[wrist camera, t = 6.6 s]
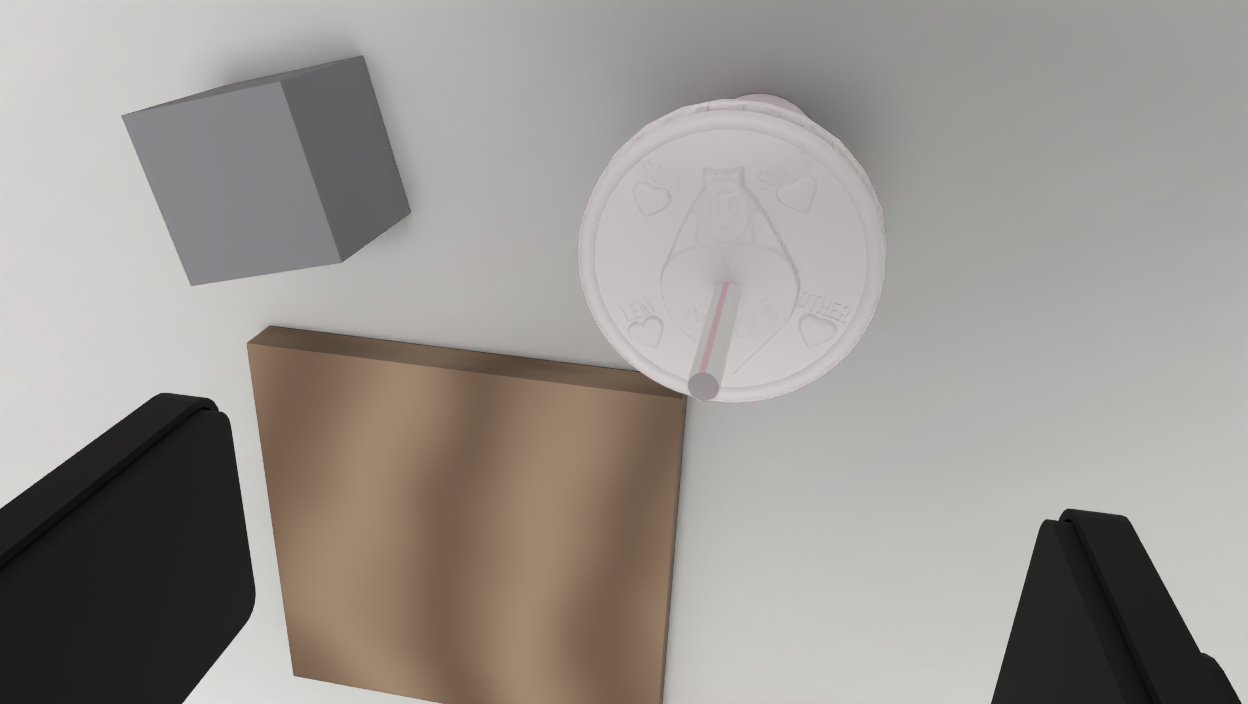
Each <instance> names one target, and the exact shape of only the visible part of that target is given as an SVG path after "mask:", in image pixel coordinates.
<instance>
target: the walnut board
mask: <svg viewBox="0 0 1248 704" xmlns="http://www.w3.org/2000/svg"><path fill="white" fill-rule="evenodd" d="M247 350H248V357H249V364H250V371H251V378H252V385H253V392H254V399H255V406H256V413H257V421H258V428H259V435H260V442H261V449H262V456H263V463H264V470H265V477H266V484H267V491H268V498H269V505H270V512H271V519H272V527H273V534H274V541H275V548H276V555H277V562H278V569H279V576H280V583H281V590H282V597H283V604H284V611H285V618H286V625H287V633H288V640H289V647H290V654H291V661H292V668H293V675H294V676H297V677H303V678H308V679H314V680H319V681H324V682H330V683H335V684H341V685H346V686H351V687H357V688H362V689H368V690H373V691H378V692H384V693H389V694H395V695H400V696H405V697H411V698H416V699H421V700H427V701H432V702H438V703H443V704H662V701H663V688H664V676H665V663H666V651H667V638H668V626H669V613H670V601H671V589H672V576H673V564H674V551H675V539H676V526H677V514H678V501H679V489H680V477H681V464H682V452H683V439H684V427H685V414H686V402H687V395H686V394H683V393H680V392H677V391H675V390H672V389H670V388H667V387H665V386H663V385H661V384H659V383H658V382H656V381H654V380H652V379H650V378H649V377H647V376H646V375H644V374H643V373H641V372H635V371H627V370H619V369H611V368H603V367H595V366H587V365H579V364H571V363H563V362H555V361H547V360H539V359H530V358H522V357H514V356H506V355H498V354H490V353H482V352H474V351H466V350H458V349H450V348H442V347H434V346H426V345H418V344H410V343H402V342H394V341H386V340H378V339H370V338H362V337H354V336H346V335H338V334H330V333H322V332H314V331H306V330H298V329H290V328H282V327H274V326H269V327H268V328H266V329H265V330H264V331H262V332H261V333H259V334H258V335H257V336H255V337H254V338H253V339H251V340H250V341H249V342H247Z"/></svg>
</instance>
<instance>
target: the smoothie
mask: <svg viewBox="0 0 1248 704" xmlns="http://www.w3.org/2000/svg"><path fill="white" fill-rule="evenodd" d="M886 252H887V244H886V236H885V227H884V219H883V211H882V208H881V205H880V203H879V201H878V198H877V196H876V194H875V191H874V189H873V187H872V184H871V182H870V180H869V177H868V175H867V173H866V171H865V170H864V169H863V168H862V166H861V165H860V164H859V163H858V161H857V160H856V159H855V158H854V157H853V155H852V154H851V153H850V152H849V150H848V149H847V148H846V147H845V146H844V144H843V143H842V142H841V141H840V140H839V139H838V138H836V137H835V136H833V135H832V134H830V133H829V132H828V131H826V130H825V129H823V128H822V127H821V126H819V125H818V124H816V123H815V122H813V121H812V120H811V119H809V118H808V117H807V116H806V114H805V113H804V112H803V111H802V110H801V109H799V108H798V107H797V106H796V105H794V104H793V103H791V102H789V101H787V100H785V99H783V98H780V97H777V96H774V95H769V94H749V95H744V96H740V97H737V98H735V99H720V100H714V101H709V102H704V103H699V104H694V105H689V106H684V107H681V108H679V109H677V110H675V111H673V112H671V113H669V114H667V115H665V116H663V117H661V118H659V119H657V120H655V121H653V122H651V123H649V124H647V125H645V126H644V127H643V128H642V129H641V130H639V131H638V132H637V133H636V134H635V135H634V136H633V137H632V138H631V139H629V140H628V141H627V142H626V143H625V144H624V145H623V146H622V147H620V148H619V149H618V150H617V151H616V152H615V154H614V156H613V157H612V159H611V160H610V162H609V163H608V165H607V167H606V168H605V170H604V171H603V173H602V174H601V176H600V178H599V179H598V181H597V182H596V184H595V187H594V190H593V192H592V194H591V196H590V198H589V200H588V203H587V205H586V208H585V211H584V214H583V218H582V222H581V226H580V232H579V240H578V267H579V274H580V280H581V285H582V289H583V293H584V296H585V299H586V302H587V304H588V307H589V309H590V312H591V314H592V316H593V318H594V320H595V322H596V323H597V325H598V327H599V328H600V330H601V332H602V333H603V335H604V336H605V337H606V339H607V340H608V341H609V343H610V344H611V345H612V346H613V347H614V348H615V350H616V351H617V352H618V353H619V354H620V355H621V356H622V357H623V358H624V359H625V360H626V361H628V362H629V363H630V364H631V365H632V366H633V367H635V368H636V369H637V370H639V371H640V372H641V373H643V374H644V375H646V376H647V377H649V378H650V379H652V380H654V381H656V382H658V383H659V384H661V385H663V386H665V387H667V388H670V389H672V390H675V391H677V392H680V393H683V394H686V395H689V396H692V397H693V398H694V399H696V400H698V401H704V402H705V401H711V400H713V401H721V402H749V401H757V400H764V399H768V398H773V397H777V396H780V395H783V394H786V393H790V392H792V391H794V390H797V389H799V388H802V387H804V386H806V385H807V384H809V383H811V382H813V381H815V380H816V379H818V378H820V377H821V376H823V375H824V374H826V373H827V372H828V371H830V370H831V369H832V368H833V367H835V366H836V365H837V364H838V363H839V362H840V361H841V360H842V359H843V358H844V357H845V356H846V355H847V354H848V353H849V352H850V351H851V350H852V349H853V347H854V346H855V345H856V344H857V343H858V341H859V340H860V338H861V337H862V335H863V334H864V332H865V331H866V329H867V327H868V325H869V323H870V322H871V320H872V318H873V315H874V313H875V310H876V308H877V306H878V302H879V299H880V296H881V292H882V288H883V282H884V276H885V263H886V261H885V258H886Z"/></svg>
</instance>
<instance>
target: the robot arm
mask: <svg viewBox="0 0 1248 704" xmlns="http://www.w3.org/2000/svg"><path fill="white" fill-rule="evenodd" d="M255 597H256V593H255V584H254V577H253V570H252V564H251V557H250V550H249V544H248V537H247V530H246V524H245V517H244V510H243V504H242V497H241V490H240V484H239V477H238V470H237V464H236V457H235V450H234V444H233V437H232V430H231V425H230V421H229V418H228V417H227V415H226V414H224V413H223V412H219V410H218V407H217V406H216V404H215V402H214V401H212V400H211V399H209V398H203V397H195V396H187V395H180V394H172V393H160V394H158V395H156V396H154V397H153V398H151V399H150V400H148V401H147V402H146V403H144V404H143V405H142V406H140V407H139V408H138V409H136V410H135V411H133V412H132V413H131V414H129V415H128V416H127V417H125V418H124V419H123V420H121V421H120V422H118V423H117V424H116V425H114V426H113V427H112V428H110V429H109V430H107V431H106V432H105V433H103V434H102V435H101V436H99V437H98V438H97V439H95V440H94V441H92V442H91V443H90V444H88V445H87V446H86V447H84V448H83V449H81V450H80V451H79V452H77V453H76V454H75V455H73V456H72V457H71V458H69V459H68V460H66V461H65V462H64V463H62V464H61V465H60V466H58V467H57V468H56V469H54V470H53V471H51V472H50V473H49V474H47V475H46V476H45V477H43V478H42V479H40V480H39V481H38V482H36V483H35V484H34V485H32V486H31V487H30V488H28V489H27V490H25V491H24V492H23V493H21V494H20V495H19V496H17V497H16V498H14V499H13V500H12V501H10V502H9V503H8V504H6V505H5V506H4V507H2V508H1V509H0V704H182V703H183V702H184V701H185V699H186V698H187V697H188V696H189V694H190V693H191V692H192V691H193V689H194V688H195V687H196V686H197V684H198V683H199V682H200V681H201V679H202V678H203V677H204V675H205V674H206V673H207V672H208V670H209V669H210V668H211V667H212V665H213V664H214V663H215V662H216V660H217V659H218V658H219V657H220V655H221V654H222V653H223V652H224V650H225V649H226V648H227V647H228V645H229V644H230V643H231V642H232V640H233V639H234V638H235V637H236V635H237V634H238V633H239V631H240V630H241V629H242V628H243V626H244V625H245V624H246V622H247V621H248V619H249V618H250V615H251V613H252V611H253V607H254V604H255ZM991 704H1242V703H1241V701H1240V700H1239V698H1238V696H1237V694H1236V692H1235V691H1234V689H1233V687H1232V685H1231V683H1230V682H1229V680H1228V678H1227V676H1226V674H1225V673H1224V671H1223V669H1222V668H1221V667H1220V666H1219V664H1218V663H1217V662H1216V660H1215V659H1214V658H1212V657H1210V656H1209V655H1207V654H1205V653H1201V652H1200V650H1199V648H1198V647H1197V645H1196V643H1195V641H1194V639H1193V637H1192V635H1191V634H1190V632H1189V630H1188V628H1187V626H1186V624H1185V622H1184V621H1183V619H1182V617H1181V615H1180V613H1179V611H1178V609H1177V608H1176V606H1175V604H1174V602H1173V600H1172V598H1171V596H1170V595H1169V593H1168V591H1167V589H1166V587H1165V585H1164V583H1163V582H1162V580H1161V578H1160V576H1159V574H1158V572H1157V571H1156V569H1155V567H1154V565H1153V563H1152V561H1151V559H1150V558H1149V556H1148V554H1147V552H1146V550H1145V548H1144V546H1143V545H1142V543H1141V541H1140V539H1139V537H1138V535H1137V533H1136V532H1135V530H1134V528H1133V526H1132V524H1131V522H1130V521H1129V520H1128V519H1127V517H1125V516H1122V515H1115V514H1107V513H1100V512H1092V511H1084V510H1076V509H1066V510H1065V511H1064V512H1063V513H1062V515H1061V516H1060V518H1059V521H1056V520H1048V519H1046V520H1045V521H1043V523H1042V525H1041V527H1040V529H1039V532H1038V536H1037V539H1036V543H1035V547H1034V550H1033V554H1032V557H1031V561H1030V565H1029V568H1028V572H1027V576H1026V579H1025V583H1024V586H1023V590H1022V594H1021V597H1020V601H1019V605H1018V608H1017V612H1016V615H1015V619H1014V623H1013V626H1012V630H1011V633H1010V637H1009V641H1008V644H1007V648H1006V652H1005V655H1004V659H1003V662H1002V666H1001V670H1000V673H999V677H998V680H997V684H996V688H995V691H994V695H993V699H992V702H991Z"/></svg>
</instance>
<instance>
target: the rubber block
mask: <svg viewBox="0 0 1248 704" xmlns="http://www.w3.org/2000/svg"><path fill="white" fill-rule="evenodd" d="M122 118H123V121H124V123H125V126H126V128H127V131H128V133H129V135H130V138H131V140H132V143H133V145H134V148H135V150H136V153H137V155H138V157H139V160H140V162H141V165H142V167H143V170H144V172H145V175H146V177H147V180H148V182H149V184H150V187H151V189H152V192H153V194H154V197H155V199H156V202H157V204H158V206H159V209H160V211H161V214H162V216H163V219H164V221H165V224H166V226H167V228H168V231H169V233H170V236H171V238H172V241H173V243H174V246H175V248H176V250H177V253H178V255H179V258H180V260H181V263H182V265H183V268H184V270H185V272H186V275H187V277H188V280H189V282H190V285H191V286H194V285H201V284H207V283H214V282H220V281H226V280H233V279H239V278H246V277H252V276H259V275H265V274H271V273H278V272H284V271H291V270H297V269H304V268H310V267H316V266H323V265H329V264H336V263H342V262H343V261H345V260H346V259H347V258H349V257H350V256H352V255H353V254H354V253H356V252H357V251H358V250H360V249H361V248H363V247H364V246H365V245H367V244H368V243H369V242H371V241H372V240H374V239H375V238H376V237H378V236H379V235H380V234H382V233H383V232H385V231H386V230H387V229H389V228H390V227H392V226H393V225H394V224H396V223H397V222H398V221H400V220H401V219H403V218H404V217H405V216H407V215H408V214H409V213H411V211H410V208H409V204H408V201H407V198H406V195H405V191H404V188H403V185H402V182H401V178H400V175H399V172H398V168H397V165H396V162H395V159H394V155H393V152H392V149H391V145H390V142H389V139H388V136H387V132H386V129H385V126H384V122H383V119H382V116H381V113H380V109H379V106H378V103H377V99H376V96H375V93H374V90H373V86H372V83H371V80H370V76H369V73H368V70H367V67H366V63H365V60H364V57H363V56H358V57H354V58H349V59H345V60H340V61H335V62H331V63H326V64H322V65H317V66H313V67H308V68H303V69H299V70H294V71H290V72H285V73H281V74H276V75H271V76H267V77H262V78H258V79H253V80H248V81H244V82H239V83H235V84H230V85H226V86H222V87H218V88H215V89H211V90H208V91H205V92H201V93H198V94H194V95H191V96H187V97H184V98H180V99H177V100H174V101H170V102H167V103H163V104H160V105H156V106H153V107H149V108H146V109H143V110H139V111H136V112H132V113H129V114H125V115H122Z"/></svg>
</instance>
